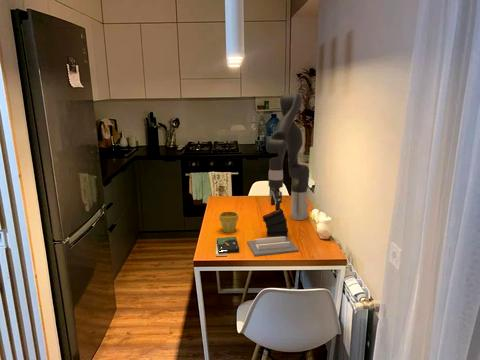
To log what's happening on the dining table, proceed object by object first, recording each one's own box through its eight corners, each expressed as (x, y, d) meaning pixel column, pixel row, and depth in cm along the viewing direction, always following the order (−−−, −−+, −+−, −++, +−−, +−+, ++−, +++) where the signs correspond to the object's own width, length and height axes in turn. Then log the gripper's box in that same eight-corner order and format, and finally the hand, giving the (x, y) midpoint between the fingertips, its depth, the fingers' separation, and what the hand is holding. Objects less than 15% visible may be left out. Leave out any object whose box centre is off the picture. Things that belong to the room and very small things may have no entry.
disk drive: (239, 253, 181) (235, 241, 195) (239, 248, 180) (235, 236, 194) (218, 255, 180) (216, 242, 194) (218, 249, 179) (216, 237, 193)
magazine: (293, 234, 197) (281, 210, 195) (271, 243, 200) (259, 219, 197) (293, 231, 201) (281, 207, 198) (271, 240, 203) (259, 217, 201)
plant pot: (228, 235, 201) (228, 218, 199) (216, 230, 208) (215, 214, 206) (242, 230, 208) (241, 214, 206) (229, 225, 215) (229, 209, 213)
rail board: (287, 238, 196) (287, 232, 195) (298, 251, 181) (298, 245, 180) (247, 243, 191) (247, 236, 190) (254, 256, 176) (254, 249, 175)
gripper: (287, 180, 187) (286, 211, 190) (278, 174, 200) (277, 203, 204) (272, 181, 185) (272, 212, 189) (265, 175, 199) (264, 204, 203)
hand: (275, 207), depth 196 cm, fingers open, 8 cm apart
